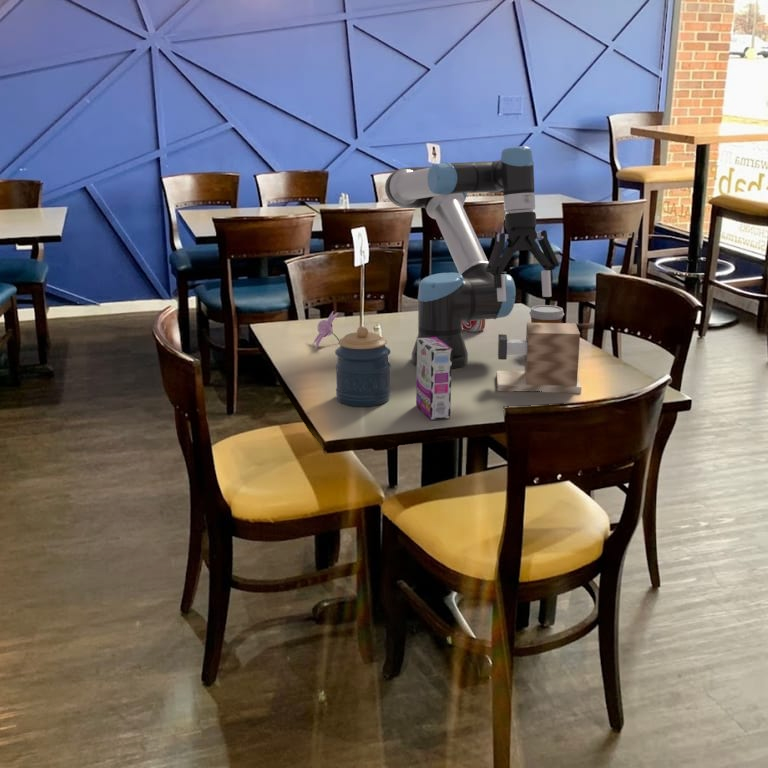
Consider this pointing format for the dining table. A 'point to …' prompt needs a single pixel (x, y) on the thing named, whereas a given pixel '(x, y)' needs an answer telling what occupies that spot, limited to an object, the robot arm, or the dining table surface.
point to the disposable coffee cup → (546, 314)
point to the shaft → (511, 347)
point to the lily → (325, 328)
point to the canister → (362, 369)
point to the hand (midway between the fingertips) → (524, 299)
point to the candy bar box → (433, 378)
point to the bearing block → (547, 361)
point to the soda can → (473, 325)
